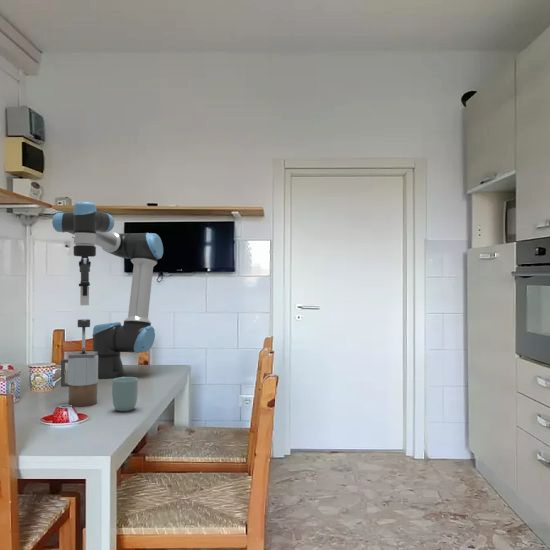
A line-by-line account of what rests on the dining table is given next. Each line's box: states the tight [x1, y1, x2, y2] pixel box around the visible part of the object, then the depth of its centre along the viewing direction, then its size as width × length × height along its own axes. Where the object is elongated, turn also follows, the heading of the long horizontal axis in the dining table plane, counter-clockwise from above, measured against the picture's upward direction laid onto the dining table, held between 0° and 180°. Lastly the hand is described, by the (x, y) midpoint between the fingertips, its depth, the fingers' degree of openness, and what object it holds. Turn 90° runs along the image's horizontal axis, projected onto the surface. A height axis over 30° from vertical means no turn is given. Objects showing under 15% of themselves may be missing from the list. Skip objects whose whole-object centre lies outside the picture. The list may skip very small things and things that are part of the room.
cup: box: [111, 376, 139, 412], centre depth 160 cm, size 8×8×10 cm
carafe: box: [60, 351, 99, 408], centre depth 168 cm, size 9×12×17 cm
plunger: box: [77, 318, 91, 354], centre depth 168 cm, size 7×7×14 cm
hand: (84, 304), depth 178 cm, fingers open, 13 cm apart
